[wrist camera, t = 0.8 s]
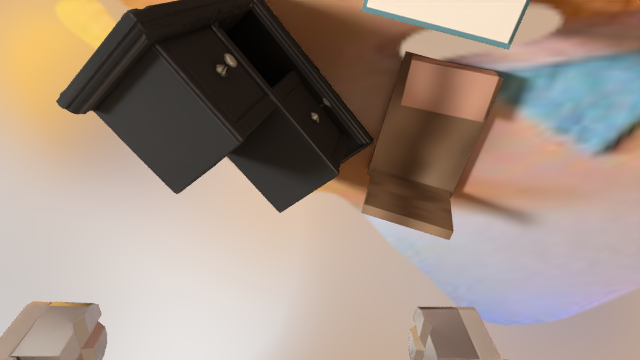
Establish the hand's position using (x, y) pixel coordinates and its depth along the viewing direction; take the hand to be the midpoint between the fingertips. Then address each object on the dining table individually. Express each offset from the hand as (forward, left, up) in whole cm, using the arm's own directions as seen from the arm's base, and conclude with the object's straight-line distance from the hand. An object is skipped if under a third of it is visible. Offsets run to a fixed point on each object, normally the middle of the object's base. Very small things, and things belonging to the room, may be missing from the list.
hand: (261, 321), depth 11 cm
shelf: (-2, +11, -41) cm, 43 cm away
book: (-6, -4, -41) cm, 42 cm away
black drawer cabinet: (+14, +2, -42) cm, 44 cm away
